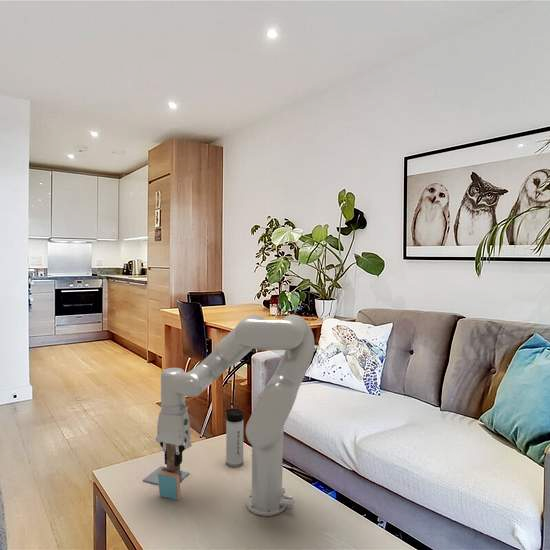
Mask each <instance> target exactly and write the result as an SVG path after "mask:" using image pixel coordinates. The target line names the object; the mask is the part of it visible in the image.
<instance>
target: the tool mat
mask: <svg viewBox="0 0 550 550" xmlns="http://www.w3.org/2000/svg"><path fill="white" fill-rule="evenodd" d="M163 467H164V466H162V465H160V466H159V467H158V468H157V469H155V470H154V471H152V472H151V473H149V474H148V475H147V476H145V478H143V479H142V482H144V483H147V484H153V485H155V484H156V486H159V482H158V472H159V471H160V470H162V468H163ZM165 467H166V468H167V466H165ZM181 471H182V481H184V478H185V477H186V478H187V477H188V476H189V475H190V472H189V471H184V470H181Z"/></svg>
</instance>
